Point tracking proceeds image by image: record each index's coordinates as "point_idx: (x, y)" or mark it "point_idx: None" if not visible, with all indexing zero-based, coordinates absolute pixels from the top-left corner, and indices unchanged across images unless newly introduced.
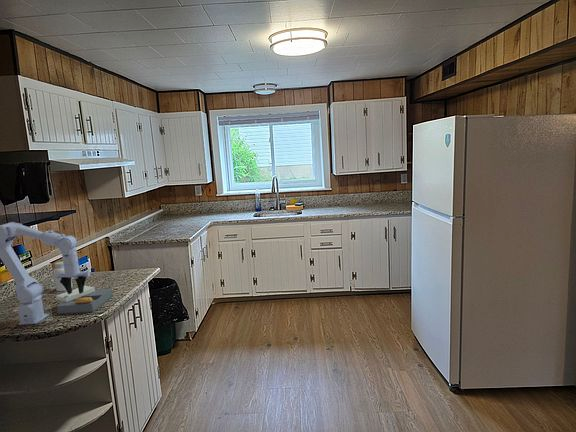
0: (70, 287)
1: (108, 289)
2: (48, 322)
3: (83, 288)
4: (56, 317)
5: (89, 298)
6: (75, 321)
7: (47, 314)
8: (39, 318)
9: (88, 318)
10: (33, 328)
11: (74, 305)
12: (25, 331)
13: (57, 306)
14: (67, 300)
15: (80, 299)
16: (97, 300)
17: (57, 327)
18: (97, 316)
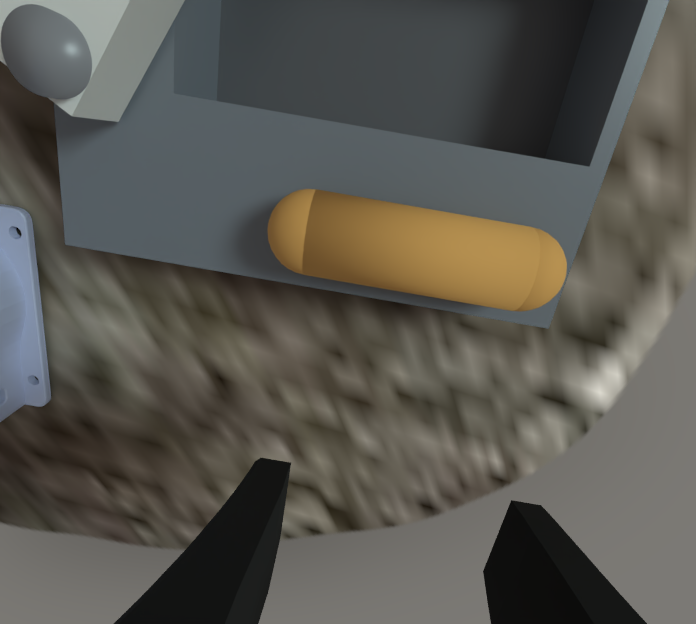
0: (247, 605)
1: None
2: (147, 397)
3: (595, 575)
4: (157, 303)
5: (539, 302)
6: (391, 452)
7: (14, 227)
8: (14, 342)
9: (493, 427)
10: (91, 472)
11: (307, 284)
12: (63, 503)
13: (74, 245)
14: (118, 102)
15: (390, 285)
16: (599, 170)
17: (285, 512)
18: (571, 410)
